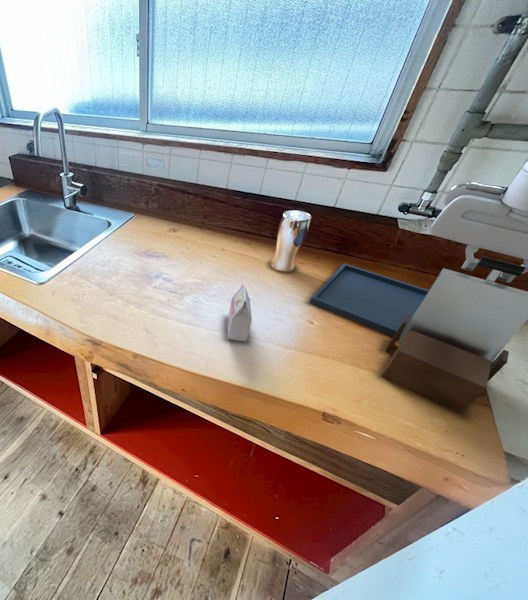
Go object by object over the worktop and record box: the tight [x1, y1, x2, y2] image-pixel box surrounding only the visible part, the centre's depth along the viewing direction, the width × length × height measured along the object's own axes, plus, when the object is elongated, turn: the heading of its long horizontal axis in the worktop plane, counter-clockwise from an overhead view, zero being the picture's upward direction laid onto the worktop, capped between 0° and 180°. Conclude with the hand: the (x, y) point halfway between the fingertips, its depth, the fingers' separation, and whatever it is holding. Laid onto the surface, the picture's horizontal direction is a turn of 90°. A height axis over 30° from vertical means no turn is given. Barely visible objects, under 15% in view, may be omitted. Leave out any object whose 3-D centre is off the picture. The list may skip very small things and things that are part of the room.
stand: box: [381, 315, 510, 415], centre depth 56 cm, size 14×11×8 cm
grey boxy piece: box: [227, 283, 253, 342], centre depth 67 cm, size 4×7×10 cm, turn 166°
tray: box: [308, 263, 430, 340], centre depth 74 cm, size 28×22×2 cm
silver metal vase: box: [270, 209, 312, 273], centre depth 85 cm, size 7×7×15 cm
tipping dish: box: [396, 256, 528, 362], centre depth 55 cm, size 12×19×3 cm
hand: (484, 274), depth 55 cm, fingers open, 3 cm apart
